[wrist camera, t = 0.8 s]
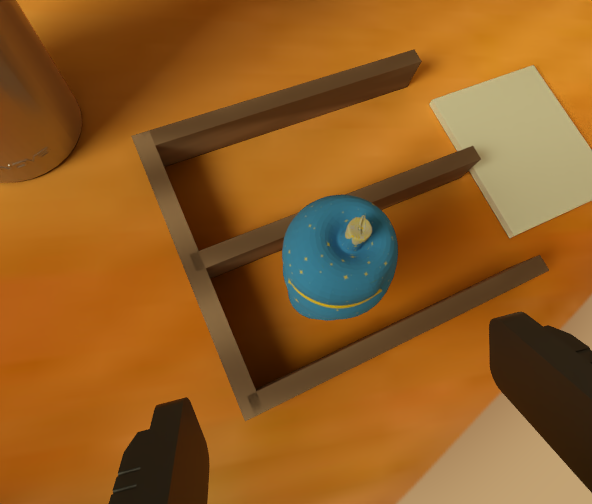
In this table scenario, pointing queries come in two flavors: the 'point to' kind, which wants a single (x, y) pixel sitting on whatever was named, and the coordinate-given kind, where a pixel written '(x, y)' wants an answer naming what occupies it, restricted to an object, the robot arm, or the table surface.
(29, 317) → the table surface
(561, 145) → the pad
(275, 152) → the table surface
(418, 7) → the table surface
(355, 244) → the ornament
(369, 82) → the lane rack
